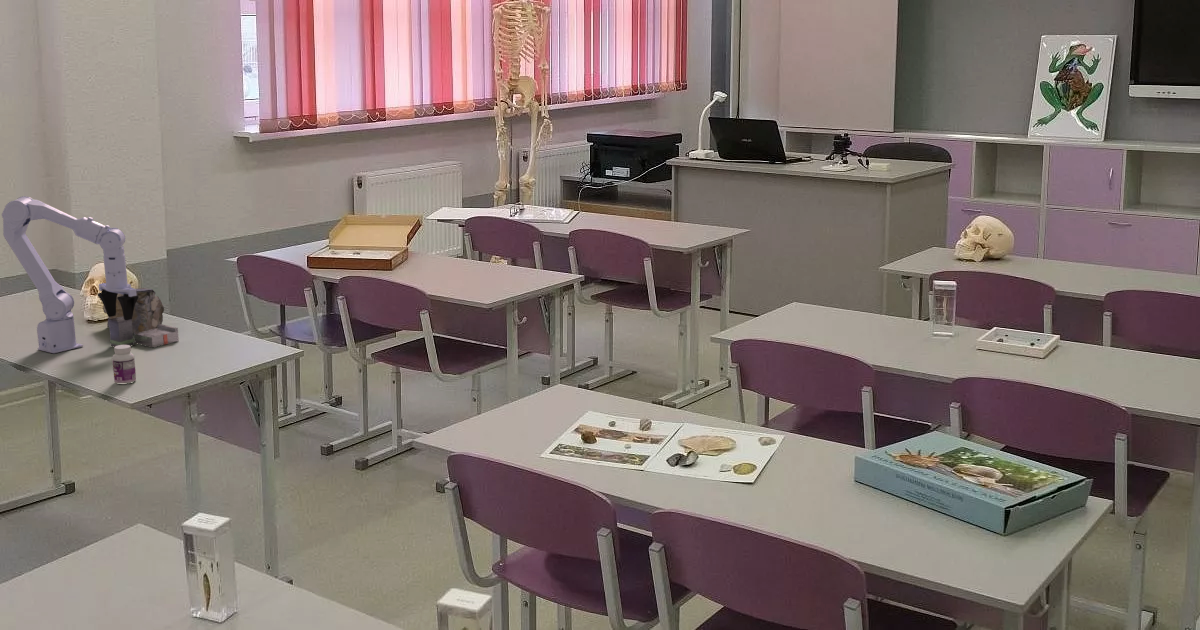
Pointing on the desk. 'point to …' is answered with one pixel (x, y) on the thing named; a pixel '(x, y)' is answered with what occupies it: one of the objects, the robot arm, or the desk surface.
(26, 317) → the desk surface
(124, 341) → the grey rectangular block
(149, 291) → the fossil rock
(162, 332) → the stand block
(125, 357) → the pill bottle
